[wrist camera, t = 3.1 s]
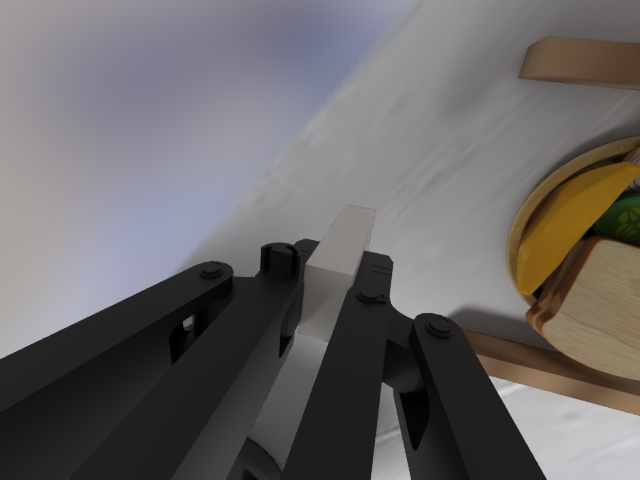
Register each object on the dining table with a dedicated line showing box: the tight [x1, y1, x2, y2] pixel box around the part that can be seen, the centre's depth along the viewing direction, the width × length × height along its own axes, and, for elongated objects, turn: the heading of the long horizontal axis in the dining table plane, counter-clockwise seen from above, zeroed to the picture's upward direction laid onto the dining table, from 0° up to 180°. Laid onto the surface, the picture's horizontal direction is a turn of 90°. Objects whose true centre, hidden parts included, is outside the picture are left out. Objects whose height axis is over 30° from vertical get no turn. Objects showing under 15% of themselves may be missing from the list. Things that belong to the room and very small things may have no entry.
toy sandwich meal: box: [506, 136, 640, 381], centre depth 17 cm, size 12×14×5 cm
